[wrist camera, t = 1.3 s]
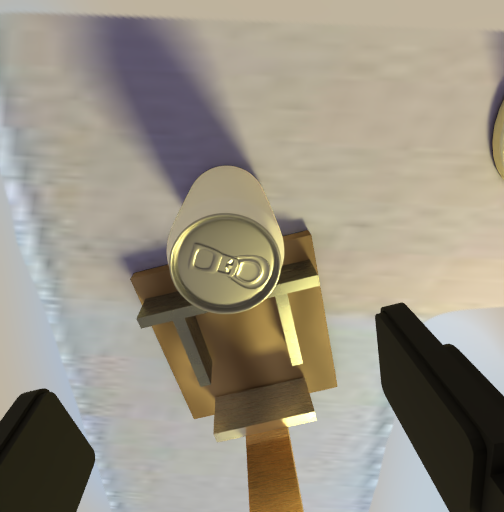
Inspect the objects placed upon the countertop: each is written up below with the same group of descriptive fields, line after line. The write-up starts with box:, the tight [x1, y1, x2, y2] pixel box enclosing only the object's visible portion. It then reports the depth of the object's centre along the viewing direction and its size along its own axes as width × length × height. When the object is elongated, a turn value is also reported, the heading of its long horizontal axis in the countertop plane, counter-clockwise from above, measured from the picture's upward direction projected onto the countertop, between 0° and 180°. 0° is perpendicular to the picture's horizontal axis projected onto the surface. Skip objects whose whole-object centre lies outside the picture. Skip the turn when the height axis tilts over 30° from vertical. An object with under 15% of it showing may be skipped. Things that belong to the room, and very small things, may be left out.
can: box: [167, 166, 284, 314], centre depth 22 cm, size 6×6×12 cm
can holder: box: [137, 259, 320, 387], centre depth 29 cm, size 15×9×3 cm, turn 103°
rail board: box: [130, 230, 337, 419], centre depth 32 cm, size 16×18×1 cm
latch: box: [214, 377, 316, 512], centre depth 27 cm, size 10×2×16 cm, turn 103°
